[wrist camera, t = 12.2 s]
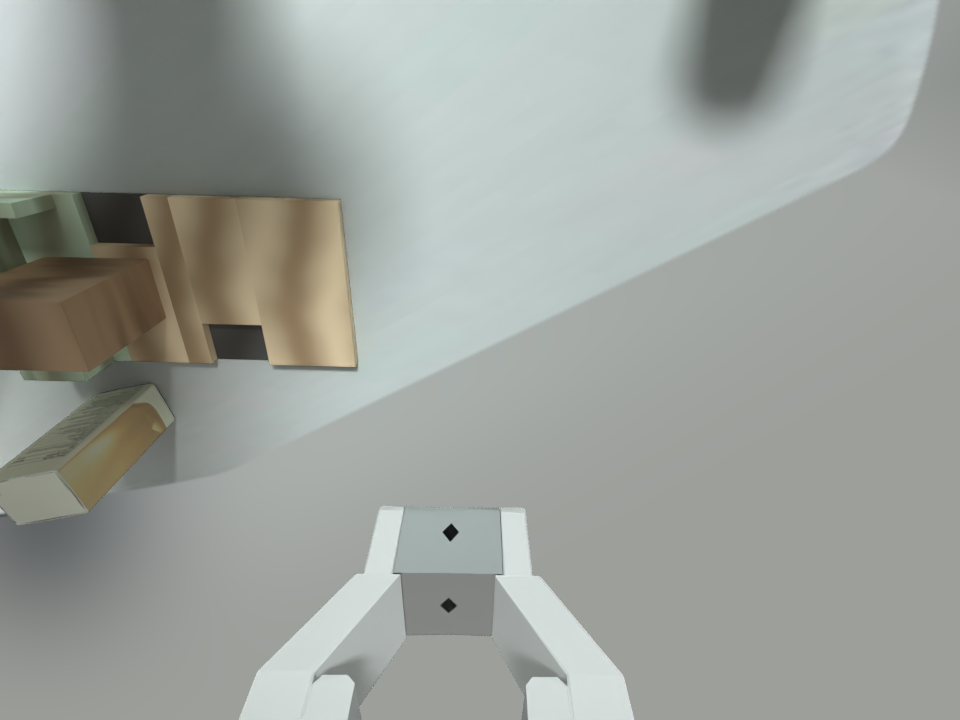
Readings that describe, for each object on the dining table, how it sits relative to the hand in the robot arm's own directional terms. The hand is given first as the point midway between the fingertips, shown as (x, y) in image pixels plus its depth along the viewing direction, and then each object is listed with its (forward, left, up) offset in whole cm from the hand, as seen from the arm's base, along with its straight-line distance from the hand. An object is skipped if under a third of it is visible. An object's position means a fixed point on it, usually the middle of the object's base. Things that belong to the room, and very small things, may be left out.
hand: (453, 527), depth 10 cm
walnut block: (-22, -20, -30) cm, 42 cm away
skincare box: (-18, -32, -31) cm, 48 cm away
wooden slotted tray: (-17, -17, -31) cm, 39 cm away
